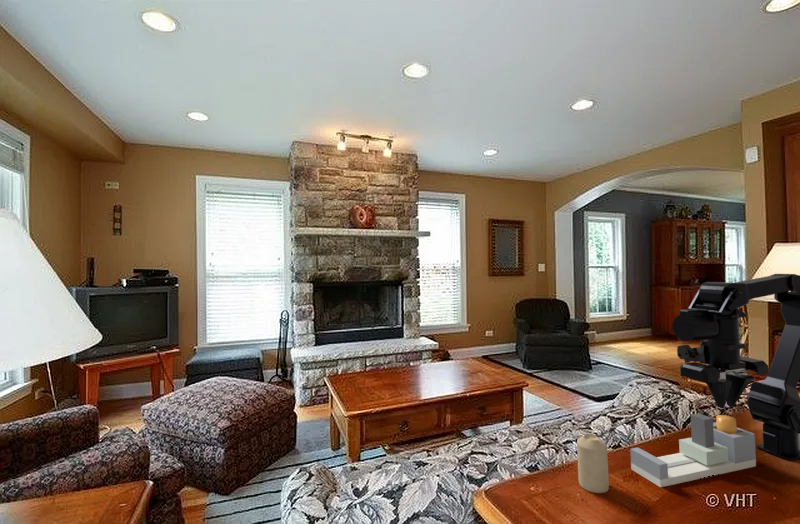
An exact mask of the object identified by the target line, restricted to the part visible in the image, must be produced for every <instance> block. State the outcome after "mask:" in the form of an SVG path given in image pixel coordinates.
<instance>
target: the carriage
mask: <svg viewBox="0 0 800 524" xmlns="http://www.w3.org/2000/svg"><path fill="white" fill-rule="evenodd" d="M713 422H714V418H713V417H710V416H708V415H705V414H702V413H700V412H699V413H692V414H690V429H691V430H690V431H691V433H690V434H691V437H686V438H681V439H678V446H679V453H682V454H684V455H686V456H688V457H690V458H693V459H695V460H697V461H699V462H701V463H703V464H705V465H707V466H708V465H712V464H717V463H722V462H727V461H729V459H728V448H727V447H725V446H722V445H720V444H717V443H715V442H714V431H713Z"/></svg>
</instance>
